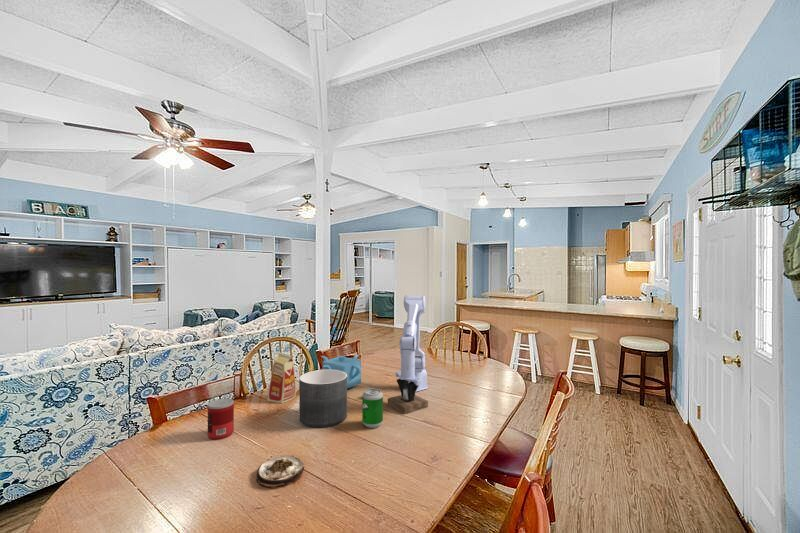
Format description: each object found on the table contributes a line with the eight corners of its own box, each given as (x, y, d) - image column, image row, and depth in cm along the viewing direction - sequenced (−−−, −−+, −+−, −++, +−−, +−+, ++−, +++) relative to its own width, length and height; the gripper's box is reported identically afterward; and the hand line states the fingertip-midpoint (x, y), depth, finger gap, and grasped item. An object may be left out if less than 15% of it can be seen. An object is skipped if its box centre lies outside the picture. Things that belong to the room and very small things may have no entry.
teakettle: (363, 392, 161) (363, 360, 161) (321, 395, 157) (321, 362, 157) (358, 379, 179) (358, 350, 179) (320, 381, 175) (321, 352, 175)
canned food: (238, 431, 123) (238, 399, 123) (220, 442, 115) (220, 408, 115) (221, 427, 125) (221, 397, 125) (202, 438, 118) (202, 405, 118)
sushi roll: (249, 498, 88) (249, 481, 88) (253, 465, 102) (254, 451, 102) (310, 486, 93) (310, 471, 93) (306, 457, 107) (306, 443, 107)
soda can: (384, 420, 132) (384, 388, 132) (381, 429, 124) (381, 395, 124) (364, 419, 133) (364, 387, 133) (360, 428, 125) (360, 394, 125)
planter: (290, 417, 134) (290, 376, 134) (328, 404, 147) (329, 366, 147) (316, 433, 122) (317, 387, 122) (356, 417, 135) (356, 376, 135)
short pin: (371, 396, 156) (371, 387, 156) (376, 398, 154) (376, 389, 154) (365, 398, 154) (365, 388, 154) (369, 400, 152) (369, 391, 152)
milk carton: (267, 400, 150) (267, 354, 150) (282, 393, 159) (282, 349, 159) (284, 404, 147) (284, 356, 147) (298, 396, 155) (298, 351, 155)
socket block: (409, 398, 154) (409, 392, 154) (428, 406, 145) (428, 400, 145) (387, 404, 147) (387, 398, 147) (405, 414, 138) (405, 407, 138)
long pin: (408, 403, 148) (408, 387, 148) (412, 406, 145) (413, 389, 145) (401, 405, 146) (401, 388, 146) (406, 408, 143) (406, 391, 143)
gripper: (389, 362, 149) (389, 394, 149) (411, 371, 138) (411, 405, 138) (403, 360, 154) (402, 391, 154) (424, 368, 142) (424, 401, 142)
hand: (407, 397), depth 146 cm, fingers open, 4 cm apart
